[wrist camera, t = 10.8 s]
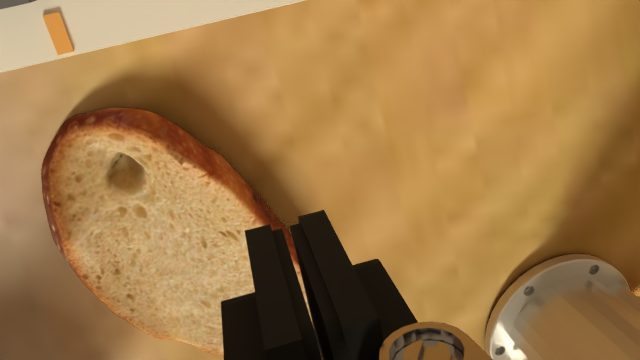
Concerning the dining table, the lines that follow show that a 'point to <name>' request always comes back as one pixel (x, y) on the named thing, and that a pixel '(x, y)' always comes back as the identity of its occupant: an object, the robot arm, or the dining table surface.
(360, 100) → the dining table surface
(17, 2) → the slider tab
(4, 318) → the dining table surface
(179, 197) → the bread slice
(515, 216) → the dining table surface
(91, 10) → the console board
